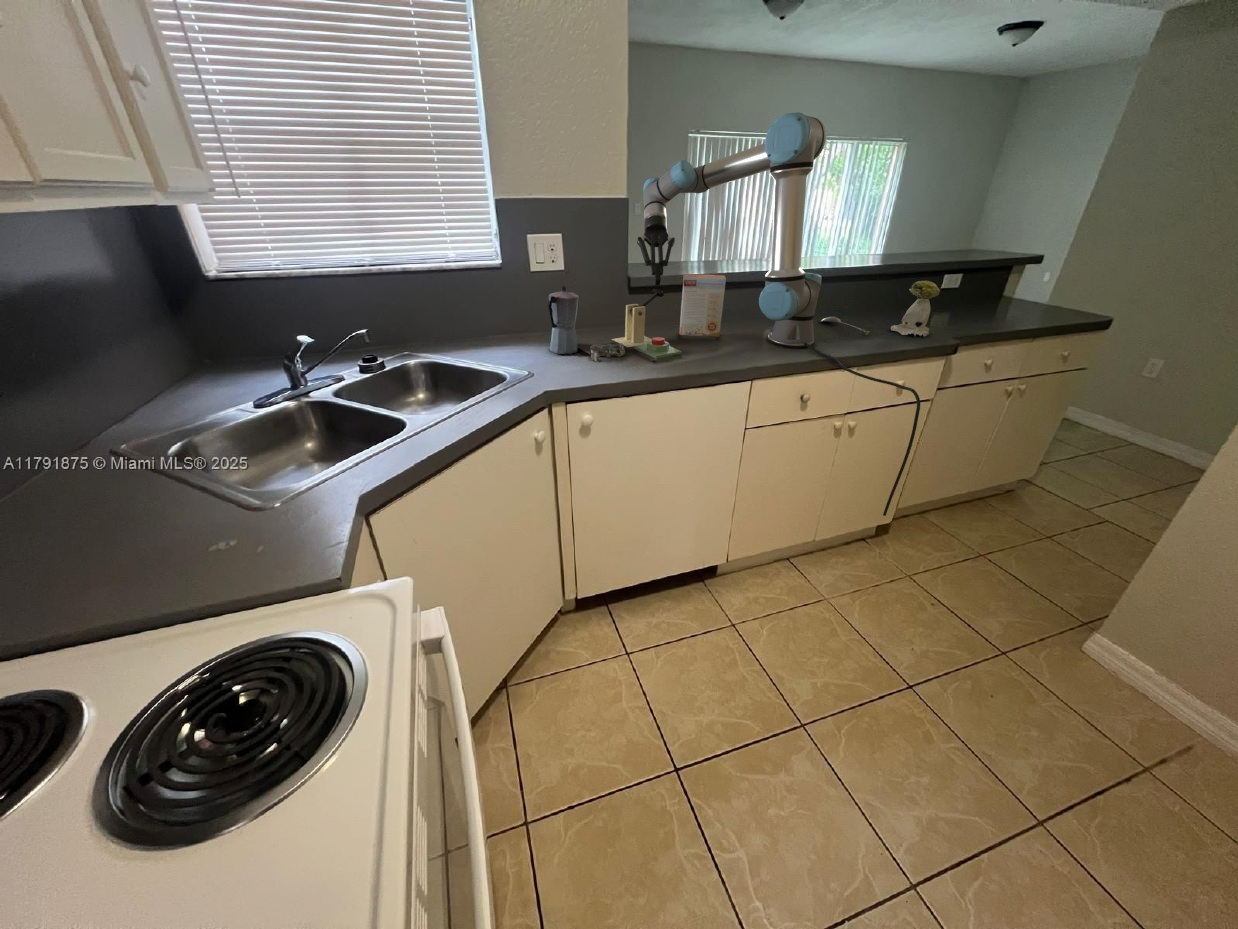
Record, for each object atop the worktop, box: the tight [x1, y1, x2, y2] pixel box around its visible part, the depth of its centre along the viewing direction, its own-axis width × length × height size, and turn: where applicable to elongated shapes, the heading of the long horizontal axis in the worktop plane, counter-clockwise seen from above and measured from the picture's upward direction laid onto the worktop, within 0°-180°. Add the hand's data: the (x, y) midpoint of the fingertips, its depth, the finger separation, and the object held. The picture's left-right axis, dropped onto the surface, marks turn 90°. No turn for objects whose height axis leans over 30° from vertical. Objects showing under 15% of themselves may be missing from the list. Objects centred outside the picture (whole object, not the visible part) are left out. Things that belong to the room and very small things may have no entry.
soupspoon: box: [820, 316, 870, 336], centre depth 187 cm, size 22×3×7 cm
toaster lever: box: [629, 288, 665, 317], centre depth 159 cm, size 12×5×2 cm
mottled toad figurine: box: [589, 343, 626, 362], centre depth 151 cm, size 11×8×4 cm
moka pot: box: [547, 285, 580, 355], centre depth 151 cm, size 10×15×20 cm, turn 161°
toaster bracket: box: [611, 303, 652, 348], centre depth 161 cm, size 12×10×13 cm
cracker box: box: [679, 273, 727, 338], centre depth 168 cm, size 14×6×21 cm, turn 84°
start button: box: [651, 336, 666, 345], centre depth 152 cm, size 4×4×2 cm
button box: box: [633, 340, 683, 364], centre depth 154 cm, size 12×10×4 cm
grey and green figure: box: [890, 280, 941, 337], centre depth 179 cm, size 12×13×18 cm
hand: (657, 282), depth 159 cm, fingers closed
